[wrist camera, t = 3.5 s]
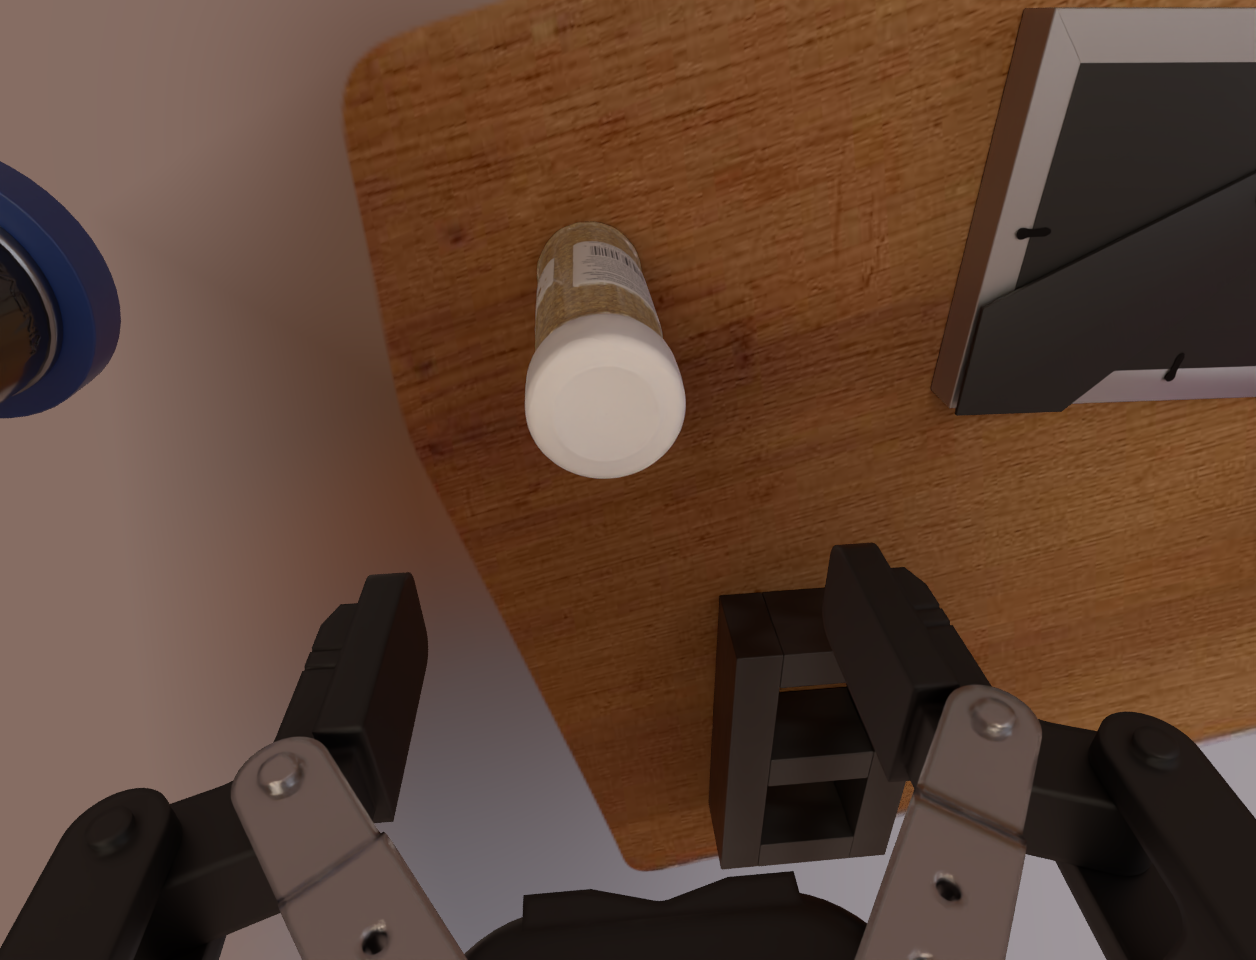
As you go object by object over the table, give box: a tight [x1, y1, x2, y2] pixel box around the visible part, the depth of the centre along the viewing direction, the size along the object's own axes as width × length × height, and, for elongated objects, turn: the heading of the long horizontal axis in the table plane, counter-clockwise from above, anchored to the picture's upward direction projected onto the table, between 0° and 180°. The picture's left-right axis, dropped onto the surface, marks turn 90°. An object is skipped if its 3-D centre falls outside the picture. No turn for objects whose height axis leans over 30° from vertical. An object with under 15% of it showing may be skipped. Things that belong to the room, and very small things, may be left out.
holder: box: [709, 588, 906, 869], centre depth 45 cm, size 11×20×5 cm, turn 2°
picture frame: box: [931, 8, 1256, 415], centre depth 31 cm, size 16×3×21 cm
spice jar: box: [525, 222, 686, 479], centre depth 26 cm, size 5×5×13 cm
